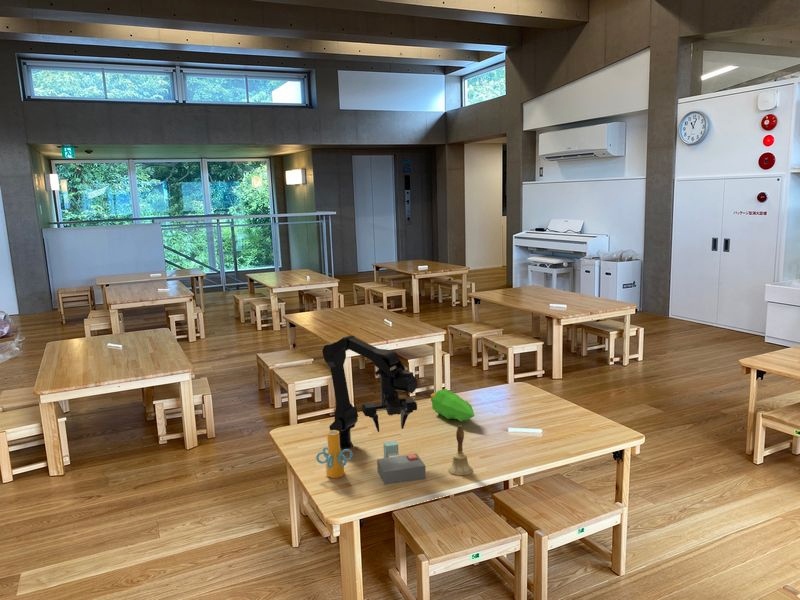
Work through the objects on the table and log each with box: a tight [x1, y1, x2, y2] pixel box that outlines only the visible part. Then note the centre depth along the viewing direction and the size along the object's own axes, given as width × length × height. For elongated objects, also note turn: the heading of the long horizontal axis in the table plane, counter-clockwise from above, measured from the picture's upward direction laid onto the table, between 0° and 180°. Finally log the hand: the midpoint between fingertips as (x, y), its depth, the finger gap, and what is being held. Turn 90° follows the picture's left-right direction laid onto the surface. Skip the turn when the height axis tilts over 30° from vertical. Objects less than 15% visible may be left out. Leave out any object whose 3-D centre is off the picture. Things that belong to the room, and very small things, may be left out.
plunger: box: [406, 453, 417, 461], centre depth 203 cm, size 3×3×5 cm
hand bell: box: [447, 424, 474, 477], centre depth 201 cm, size 8×8×16 cm
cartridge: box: [383, 440, 400, 458], centre depth 205 cm, size 18×4×6 cm, turn 16°
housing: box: [376, 453, 427, 486], centre depth 200 cm, size 10×14×5 cm
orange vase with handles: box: [315, 430, 353, 479], centre depth 201 cm, size 12×10×15 cm
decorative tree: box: [430, 388, 475, 422], centre depth 248 cm, size 11×12×30 cm
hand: (390, 430), depth 211 cm, fingers open, 8 cm apart
